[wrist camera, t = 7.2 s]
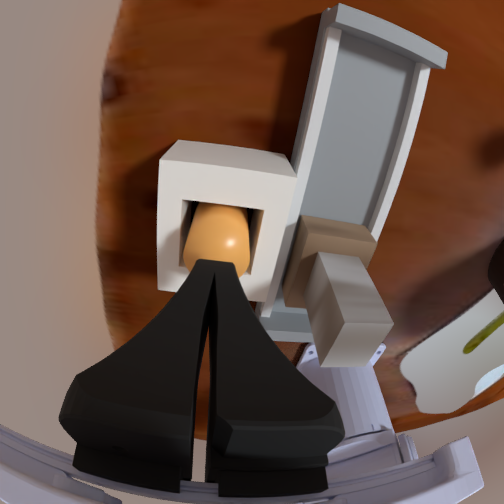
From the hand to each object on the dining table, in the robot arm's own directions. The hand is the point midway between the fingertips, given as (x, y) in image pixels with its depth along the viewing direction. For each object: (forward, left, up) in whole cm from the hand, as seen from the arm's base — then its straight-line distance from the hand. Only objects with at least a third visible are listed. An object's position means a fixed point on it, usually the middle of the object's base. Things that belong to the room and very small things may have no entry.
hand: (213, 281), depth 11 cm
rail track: (+2, -6, -7) cm, 10 cm away
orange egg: (0, 0, -6) cm, 6 cm away
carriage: (-2, -6, -6) cm, 9 cm away
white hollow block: (0, 0, -7) cm, 7 cm away
